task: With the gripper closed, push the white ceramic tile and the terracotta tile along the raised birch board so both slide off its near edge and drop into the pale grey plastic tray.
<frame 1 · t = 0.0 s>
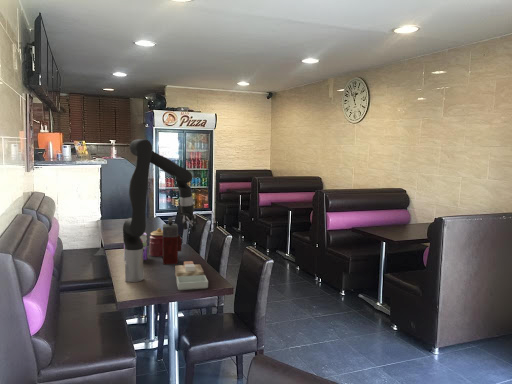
hand: (189, 230, 239), 22 cm above the table, tool pointing down, fingers open, 8 cm apart
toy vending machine: (172, 262, 251), on the table
white tile: (189, 269, 220), point 5 cm above the table, touching birch board
canister: (159, 254, 269), on the table
terracotta tile: (188, 267, 225), point 5 cm above the table, touching birch board
birch board: (189, 277, 223), on the table
grey tray: (192, 285, 210), on the table
candy box: (135, 259, 255), on the table
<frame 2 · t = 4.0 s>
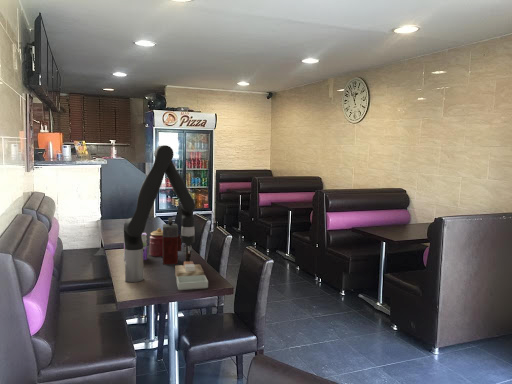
hand: (187, 263, 229), 5 cm above the table, tool pointing down, fingers closed
terracotta tile: (188, 267, 225), point 5 cm above the table, touching birch board, gripper
everything else where it was.
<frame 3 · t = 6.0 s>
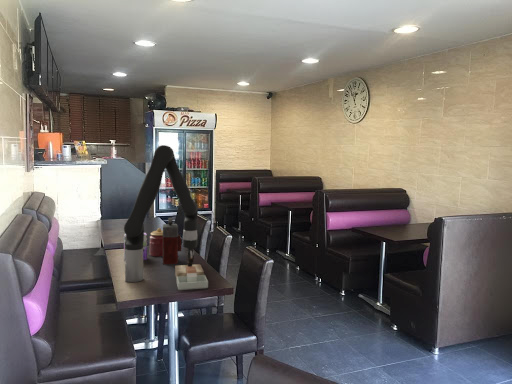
hand: (189, 269, 219), 6 cm above the table, tool pointing down, fingers closed
white tile: (191, 276, 212), point 4 cm above the table, tilted 120°, touching grey tray
terracotta tile: (190, 272, 215), point 5 cm above the table, tilted 7°, touching birch board, gripper
everything else where it was.
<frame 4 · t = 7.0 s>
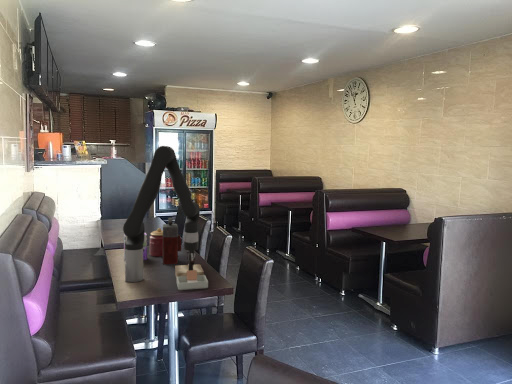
hand: (190, 271, 215), 6 cm above the table, tool pointing down, fingers closed
white tile: (192, 281, 207), point 3 cm above the table, tilted 180°, touching grey tray, terracotta tile
terracotta tile: (191, 276, 213), point 4 cm above the table, tilted 54°, touching gripper, white tile
everything else where it was.
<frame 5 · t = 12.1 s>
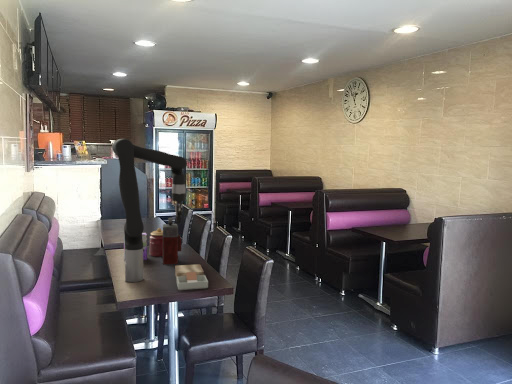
hand: (178, 222, 228), 29 cm above the table, tool pointing down, fingers closed
terracotta tile: (191, 278, 213), point 3 cm above the table, tilted 33°, touching grey tray, white tile
everything else where it was.
at the end: terracotta tile inside the target area on the grey tray (3.4 cm from its centre), point 2.5 cm above the grey tray's base; white tile inside the target area on the grey tray (2.4 cm from its centre), point 3.0 cm above the grey tray's base; terracotta tile touching grey tray, white tile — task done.
